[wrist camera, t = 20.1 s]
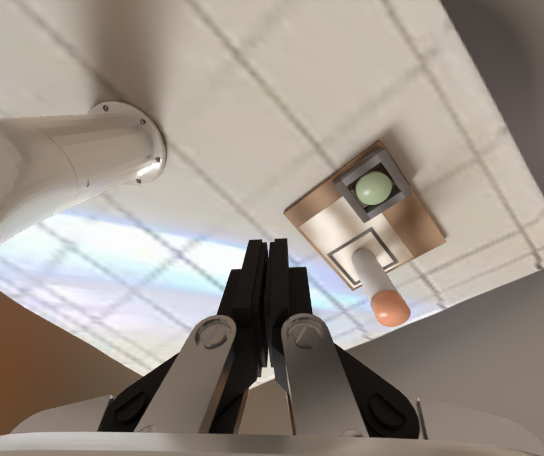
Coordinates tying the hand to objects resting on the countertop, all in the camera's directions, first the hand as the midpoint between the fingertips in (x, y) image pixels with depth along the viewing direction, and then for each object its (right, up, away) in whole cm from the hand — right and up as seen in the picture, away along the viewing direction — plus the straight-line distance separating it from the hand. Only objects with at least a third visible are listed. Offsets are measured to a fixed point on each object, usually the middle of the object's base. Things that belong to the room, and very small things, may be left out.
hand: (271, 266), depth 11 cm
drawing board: (+16, +2, +30) cm, 34 cm away
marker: (+16, -4, +32) cm, 36 cm away
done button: (+15, +8, +25) cm, 31 cm away
